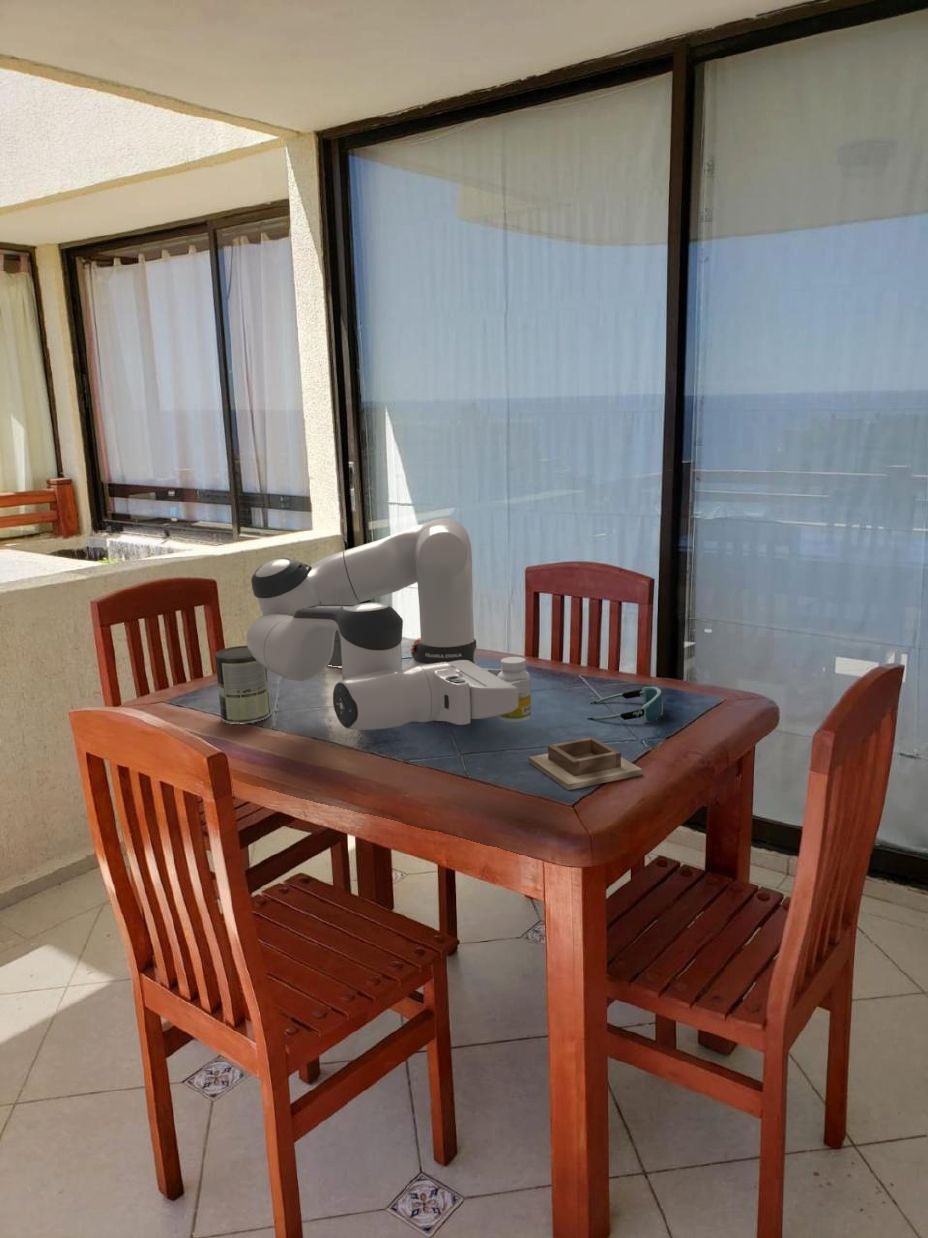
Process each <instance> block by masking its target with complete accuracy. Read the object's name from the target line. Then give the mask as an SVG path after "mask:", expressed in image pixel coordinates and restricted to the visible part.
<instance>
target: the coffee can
mask: <svg viewBox="0 0 928 1238" xmlns="http://www.w3.org/2000/svg"><path fill="white" fill-rule="evenodd" d="M214 658H215V659H214V660H215V665H216V666H215V668H216V675H217V685H218V687H217V688H218V697H219V707H220V720H221V719H222V720H223V721H224V722H228V723H234V724H237V723H238V724H240V723H252V722H257V721H260V722H262V721H261V720H263V721H265V720H267V719H268V718H267V717H269V716H270V714H271V715H272V712H271V711H272V710H271V701H270V691H269V690H270V689H269V680H268V669H267V668H265V667H264V666H263V665H261V664H260V663H259V662H258V661H257V660H256V659H255V658H254V657H253V656H252V655H251V653H250V652H249V650H248V647H247V645H237V646H232V647H231V646H230V647H226V648H223V649H220V650H218V651H216V652H215V653H214ZM270 717H271V716H270ZM270 717H269V718H270ZM266 718H267V719H266ZM264 719H265V720H264ZM222 720H221V721H222ZM224 722H223V723H224ZM257 723H258V722H257ZM252 724H253V723H252Z"/></svg>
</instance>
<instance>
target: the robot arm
mask: <svg viewBox="0 0 928 1238" xmlns="http://www.w3.org/2000/svg"><path fill="white" fill-rule="evenodd" d="M468 533H469V532H468V531H467V530H466V528H465V527H464V525H462V524H461V523H459V522H458V521H457V520H454V519H452V518H446V517H445V518H444V517H440V518H437V519H433V520H429V521H427V522H424V523H421V524H419V525H416V526H413V527H410V528H408V529H405V530H402V531H400V532H396V533H394V534H391V535H388V536H386V537H384V538H380V539H378V540H375V541H371V542H367V543H365V544H362V545H361V544H360V545H359V546H355V547H352V548H348V549H345V550H342V551H339V552H336V553H334V554H331V555H329V556H326V557H323V558H322V559H319V560H317V561H315V562H313V563H312V564H308V563H306V562H301V561H299V560H297V559H294V558H289V557H281V558H276V559H273V560H269V561H268V562H266V563H264V564H262V565H260V566H259V567H258V568H257V569H256V570H255V571H254V573H253V574H252V577H251V579H250V581H251V587H252V588H251V589H252V592H253V595H254V597H256V599H257V601H256V602H257V603H258V607H259V610H260V613H261V616H259V617H257V618H256V619H255V620H254V621H253V622H252V623H251V624H250V626H249V628H248V630H247V631H246V632H247V633H246V636H245V637H246V638H245V639H246V640H245V641H246V643H245V644H246V646H247V647H248V650H249V652H250V653H251V655H252V656H253V657H254V658H255V659H256V660H257V661H258V662H259V663H260V664H261V665H263V666H264V667H265V668H267V671H268V670H269V671H270V672H271V673H273V674H275V675H277V676H280V677H281V678H283V679H286V680H290V681H293V682H294V681H295V682H305V681H308V680H311V679H314V678H315V677H317V676H319V675H320V674H321V673H323V672H324V671H325V669H326V668H327V667H328V664H329V662H330V660H331V658H332V655H333V649H334V638H335V631H336V630H338V632H339V635H340V641H341V657H342V668H341V680H339V681H338V682H337V683H336V684H334V685H335V686H334V688H333V691H332V703H333V708H334V709H333V710H334V712H335V715H336V718H337V719H338V722H339V723H340V725H342V727H344V728H345V729H348V730H352V731H353V730H354V731H355V730H356V731H360V730H361V731H365V730H366V731H369V730H382V729H383V730H384V729H391V728H397V727H401V726H403V725H405V724H408V723H411V722H418V723H427V722H433V721H436V722H447V723H451V724H454V725H457V726H458V725H459V726H463V725H465V726H466V725H467V724H468V725H469V724H471V719H473V720H483V719H488V718H492V717H493V718H494V717H498V715H503V714H507V713H510V712H513V711H514V710H516V709H517V708H518V694H519V693H520V692H525V691H529V690H530V691H531V680H530V681H529V680H527V679H525V678H522V679H516V681H514V682H506V681H505V680H503V679H501V678H499V677H497V676H498V674H499V673H500V672H502V669H501V668H487V667H486V668H483V667H481V666H480V665H478V646H477V640H476V638H475V629H474V627H475V625H474V624H475V623H474V622H475V621H474V598H473V597H474V596H473V595H474V593H473V591H474V590H473V559H472V557H473V556H472V555H473V554H472V553H473V552H472V543H471V539H470V536H469V534H468ZM416 583H417V592H418V593H417V594H418V595H417V596H418V605H419V608H418V609H419V628H420V637H418V638H417V639H416V640H415V641H414V642H413V645H411V648H410V654H411V656H412V659H411V660H410V661H408V663H406V664H405V665H403V659H402V658H403V657H402V656H403V655H402V650H403V649H402V640H403V628H404V626H403V625H404V620H403V618H402V617H401V615H400V614H399V613H398V611H396V610H395V609H394V608H393V607H392V606H390V604H388V603H387V604H386V603H383V602H382V603H381V602H370V603H363V604H359V605H353V604H357V603H360V602H364V601H367V600H368V601H370V600H373V599H376V598H379V597H383V596H386V595H389V594H392V593H397V592H399V591H401V590H403V589H405V588H406V587H410V586H412V585H414V584H416Z"/></svg>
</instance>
